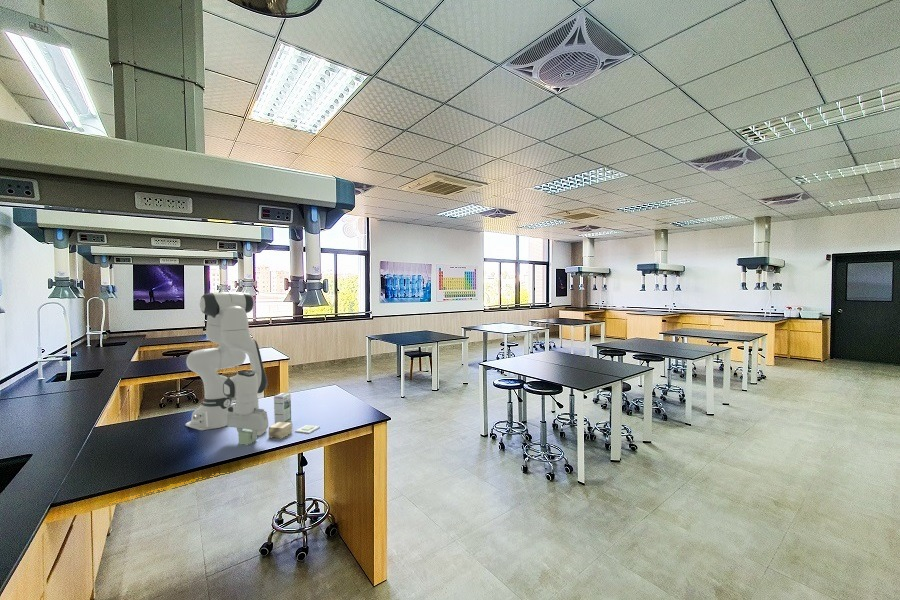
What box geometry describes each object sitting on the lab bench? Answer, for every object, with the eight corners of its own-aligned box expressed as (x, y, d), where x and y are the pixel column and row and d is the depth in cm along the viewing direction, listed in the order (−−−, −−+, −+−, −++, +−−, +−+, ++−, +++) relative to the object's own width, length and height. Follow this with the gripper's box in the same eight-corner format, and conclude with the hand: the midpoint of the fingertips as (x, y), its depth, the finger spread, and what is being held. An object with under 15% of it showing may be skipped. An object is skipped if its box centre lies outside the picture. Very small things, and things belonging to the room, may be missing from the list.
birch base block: (268, 437, 166) (268, 427, 166) (278, 432, 173) (278, 421, 173) (282, 438, 165) (282, 428, 165) (291, 433, 172) (291, 422, 172)
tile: (295, 431, 173) (295, 430, 173) (306, 425, 180) (306, 424, 180) (309, 433, 170) (309, 431, 170) (319, 427, 178) (319, 425, 178)
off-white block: (249, 434, 170) (249, 424, 170) (258, 430, 174) (258, 420, 174) (258, 435, 168) (258, 425, 168) (266, 431, 173) (266, 421, 173)
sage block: (238, 443, 159) (238, 432, 159) (247, 439, 164) (247, 428, 164) (247, 445, 158) (247, 433, 157) (256, 440, 162) (256, 429, 162)
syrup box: (284, 424, 182) (283, 396, 182) (274, 423, 183) (273, 395, 183) (291, 420, 188) (291, 393, 187) (281, 420, 189) (281, 392, 189)
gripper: (271, 407, 160) (272, 437, 161) (235, 403, 166) (235, 432, 166) (260, 411, 154) (261, 443, 155) (223, 407, 160) (223, 438, 160)
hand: (247, 438), depth 161 cm, fingers closed on sage block, 5 cm apart
